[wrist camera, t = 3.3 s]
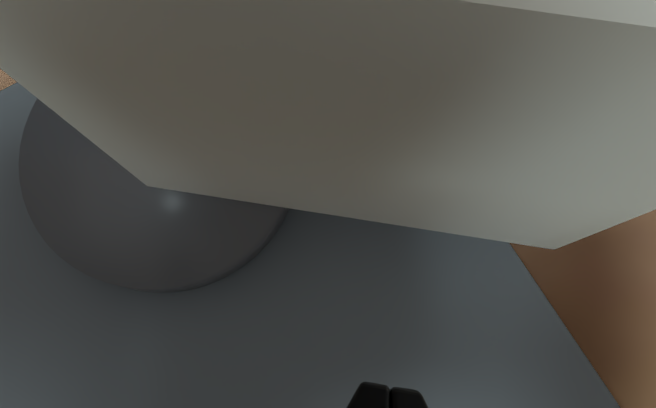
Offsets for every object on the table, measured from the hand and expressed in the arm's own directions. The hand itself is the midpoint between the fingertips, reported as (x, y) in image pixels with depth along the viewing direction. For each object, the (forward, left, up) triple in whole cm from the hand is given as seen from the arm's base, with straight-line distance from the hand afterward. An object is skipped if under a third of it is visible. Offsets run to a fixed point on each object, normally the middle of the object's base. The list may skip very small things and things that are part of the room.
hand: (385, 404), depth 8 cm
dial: (+5, -1, -6) cm, 8 cm away
